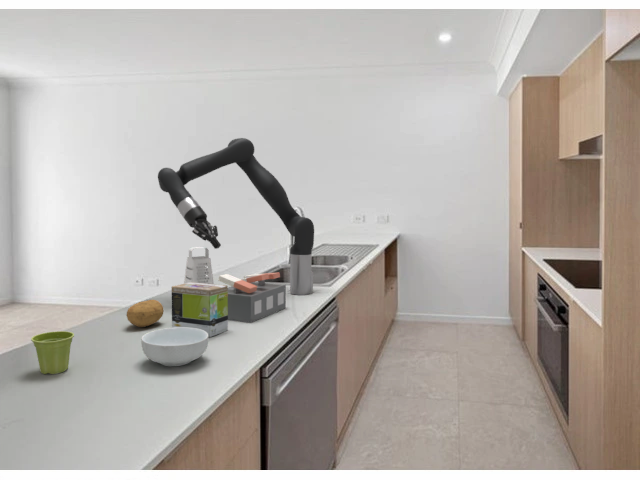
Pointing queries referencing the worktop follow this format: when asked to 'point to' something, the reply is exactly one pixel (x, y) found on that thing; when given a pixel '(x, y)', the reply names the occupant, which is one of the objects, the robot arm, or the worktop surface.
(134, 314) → the potato
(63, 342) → the plant pot
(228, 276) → the rocker
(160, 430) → the worktop surface
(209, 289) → the tea box
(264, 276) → the block
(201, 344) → the cereal bowl
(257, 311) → the switch console
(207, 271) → the grater
